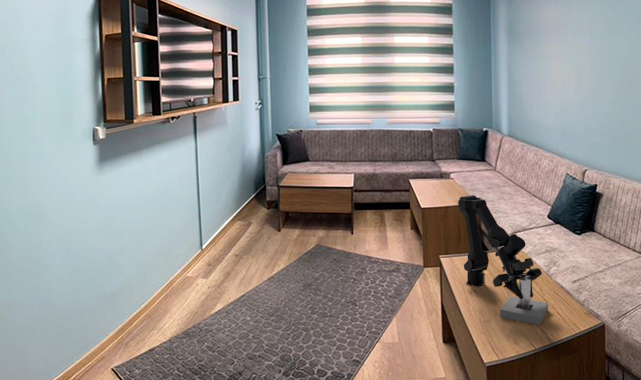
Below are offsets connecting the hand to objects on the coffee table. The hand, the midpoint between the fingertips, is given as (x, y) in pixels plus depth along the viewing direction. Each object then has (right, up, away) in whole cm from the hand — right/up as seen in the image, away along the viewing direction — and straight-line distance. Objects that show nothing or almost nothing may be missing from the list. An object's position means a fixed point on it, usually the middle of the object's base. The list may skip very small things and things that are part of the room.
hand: (527, 297), depth 194 cm
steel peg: (0, -7, +3) cm, 7 cm away
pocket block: (0, -7, +3) cm, 7 cm away
